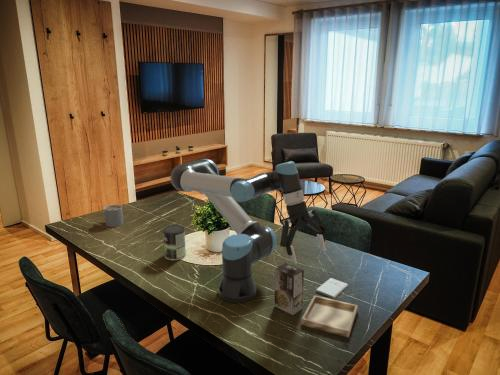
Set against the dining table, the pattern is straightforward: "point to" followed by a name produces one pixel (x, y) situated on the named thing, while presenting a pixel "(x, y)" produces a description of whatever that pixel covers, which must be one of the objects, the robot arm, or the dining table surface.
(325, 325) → the holder
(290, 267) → the coffee box
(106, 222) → the coffee mug
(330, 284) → the external hard drive
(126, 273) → the dining table surface
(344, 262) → the dining table surface
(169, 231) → the coffee can
